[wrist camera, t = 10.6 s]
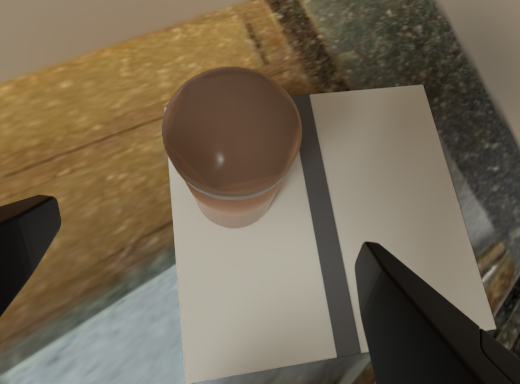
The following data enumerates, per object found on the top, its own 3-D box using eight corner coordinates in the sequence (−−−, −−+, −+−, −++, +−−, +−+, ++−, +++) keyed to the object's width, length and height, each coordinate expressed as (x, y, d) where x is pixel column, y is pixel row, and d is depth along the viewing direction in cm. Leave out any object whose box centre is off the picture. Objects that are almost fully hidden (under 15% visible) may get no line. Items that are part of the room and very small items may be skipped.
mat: (492, 328, 22) (497, 329, 22) (185, 382, 20) (185, 385, 19) (420, 86, 27) (423, 83, 26) (165, 109, 24) (164, 106, 24)
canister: (289, 205, 23) (327, 154, 13) (216, 244, 22) (201, 220, 12) (250, 139, 24) (260, 47, 14) (179, 173, 23) (138, 99, 13)
